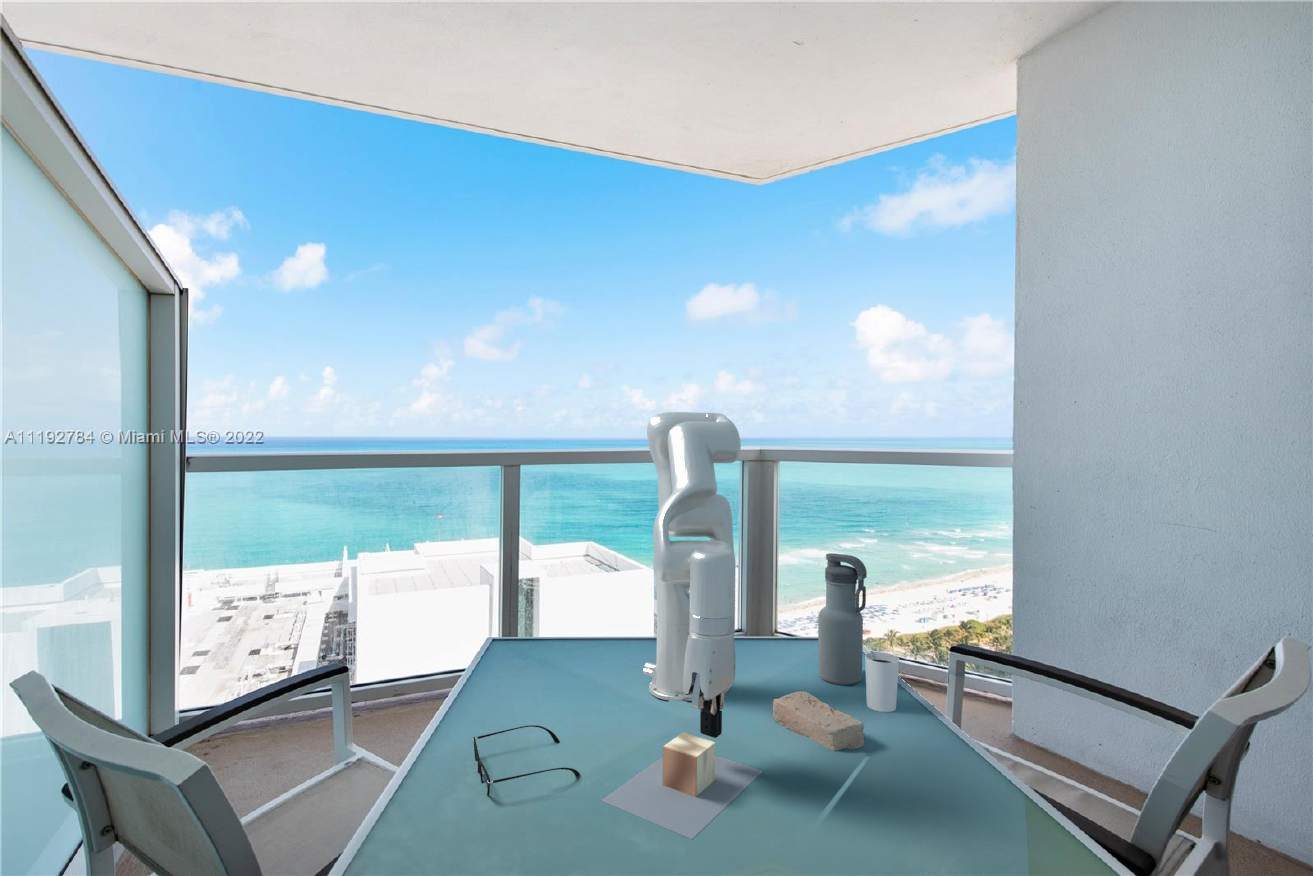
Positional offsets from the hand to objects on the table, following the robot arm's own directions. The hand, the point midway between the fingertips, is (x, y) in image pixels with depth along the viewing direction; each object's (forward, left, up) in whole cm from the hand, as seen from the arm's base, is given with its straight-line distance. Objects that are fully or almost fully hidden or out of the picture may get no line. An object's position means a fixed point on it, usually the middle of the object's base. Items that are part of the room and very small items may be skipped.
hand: (710, 733), depth 109 cm
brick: (+9, +24, -6) cm, 26 cm away
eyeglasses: (-25, -18, -6) cm, 31 cm away
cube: (0, -4, -2) cm, 4 cm away
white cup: (+16, +42, -6) cm, 45 cm away
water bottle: (+4, +52, -6) cm, 53 cm away
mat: (0, -8, -6) cm, 10 cm away
